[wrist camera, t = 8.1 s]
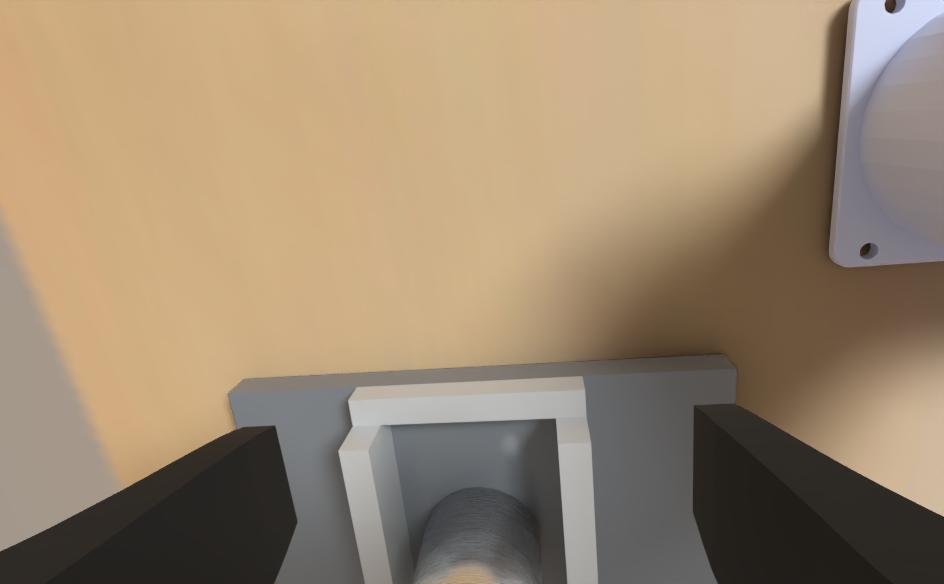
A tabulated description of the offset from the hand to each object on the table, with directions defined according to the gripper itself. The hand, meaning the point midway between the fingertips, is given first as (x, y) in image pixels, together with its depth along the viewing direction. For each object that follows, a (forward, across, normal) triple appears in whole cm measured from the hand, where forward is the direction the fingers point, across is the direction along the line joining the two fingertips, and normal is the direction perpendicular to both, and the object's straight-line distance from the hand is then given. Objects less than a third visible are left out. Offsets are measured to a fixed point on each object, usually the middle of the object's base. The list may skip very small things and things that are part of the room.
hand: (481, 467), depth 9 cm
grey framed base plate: (+10, +2, +10) cm, 14 cm away
